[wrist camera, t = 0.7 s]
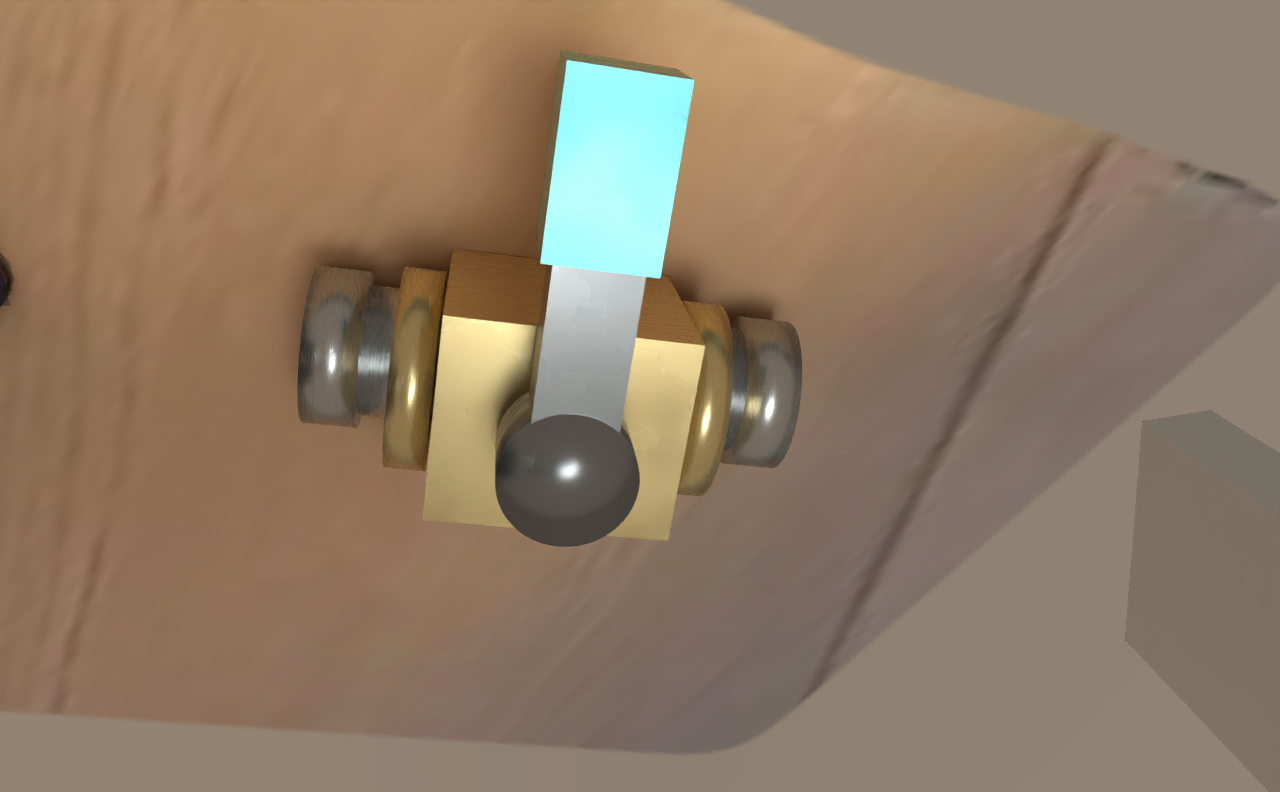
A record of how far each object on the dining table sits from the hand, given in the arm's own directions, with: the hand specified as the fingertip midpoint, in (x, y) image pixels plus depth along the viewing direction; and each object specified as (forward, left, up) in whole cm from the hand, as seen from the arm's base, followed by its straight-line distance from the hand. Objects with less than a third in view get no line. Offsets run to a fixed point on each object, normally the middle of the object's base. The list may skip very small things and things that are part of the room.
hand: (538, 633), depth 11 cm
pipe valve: (+2, -5, -25) cm, 26 cm away
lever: (+2, -1, -17) cm, 17 cm away
